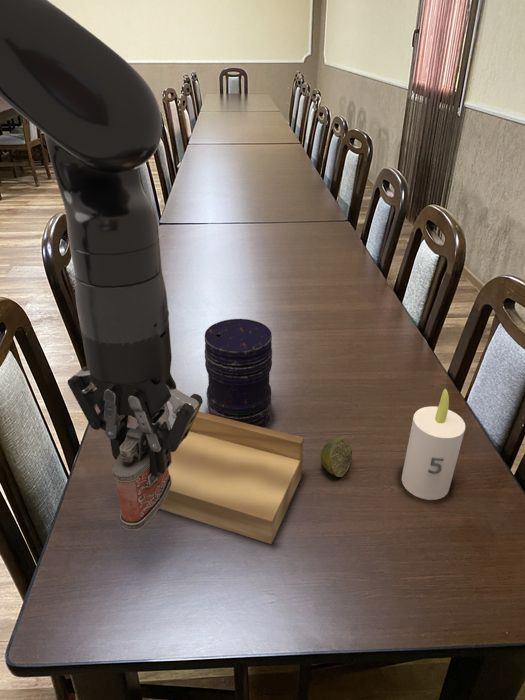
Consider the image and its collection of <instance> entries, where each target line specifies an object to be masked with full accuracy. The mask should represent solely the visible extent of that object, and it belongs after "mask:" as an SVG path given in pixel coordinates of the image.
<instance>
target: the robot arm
mask: <svg viewBox="0 0 525 700" xmlns="http://www.w3.org/2000/svg"><path fill="white" fill-rule="evenodd" d="M0 99H1V100H2V101H3V102H4V103H6V104H7V105H8V106H10V107H11V108H12V109H13V110H14V111H16V112H17V113H18V114H20V115H21V116H22V117H23V118H25V119H26V120H27V121H28V122H30V123H31V124H32V125H33V126H34V127H36V128H37V129H38V130H39V131H41V132H42V133H43V134H44V139H45V143H46V147H47V152H48V155H49V159H50V163H51V166H52V167H51V168H52V170H53V173H54V177H55V180H56V184H57V187H58V190H59V191H58V192H59V194H60V196H61V200H62V204H63V207H64V211H65V218H66V226H67V237H68V243H69V250H70V257H71V261H72V268H73V272H74V282H75V283H74V284H75V304H76V310H77V316H78V322H79V327H80V332H81V339H82V344H83V351H84V356H85V362H86V363H85V364H86V366H84V367H82V368H81V369H80V370H79V371H77V372H76V373H75V374H73V375H72V376H71V377H70V378H69V379H67V385H68V387H69V389H70V391H71V393H72V395H73V396H74V398H75V400H76V402H77V404H78V406H79V407H80V409H81V412H82V413H83V415H84V417H85V418H86V420H87V422H88V424H89V426H90V427H91V428H92V429H93V430H95V431H98V430H100V429H101V430H102V431H104V432H105V435H106V437H107V438H108V439H109V441H110V447H111V453H112V456H113V458H114V460H116V459H117V457H118V456H119V454H120V446H121V445H122V444H123V442H124V441H125V439H126V435H127V432H128V431H129V429H130V428H131V427H128V426H129V425H130V423H131V421H130V420H131V417H133V418H134V419H136V422H137V426H138V425H139V428H140V431H141V433H145V435H146V437H147V440H148V443H149V446H150V449H149V450H148V451H149V460H150V468H151V475H152V476H154V477H158V478H159V477H160V476H161V474H164V473H165V471H166V470H167V469H168V467H169V466H170V465H171V462H172V459H171V452H175V451H176V450H177V448H178V447H179V445H180V444H181V442H182V441H183V440H184V439H185V438H186V437H187V435H188V433H189V431H190V429H191V427H192V425H193V422H194V420H195V418H196V416H197V413H198V411H199V412H200V409H201V407H202V404H203V401H204V400H203V397H202V396H201V395H200V394H198V393H192V394H191V395H190V396H189V395H186V394H185V393H183V392H182V391H180V390H179V389H177V384H176V381H175V379H174V378H173V376H172V372H171V368H172V367H171V366H172V358H173V357H172V356H173V355H172V344H171V333H170V332H171V331H170V319H169V318H170V312H169V305H168V295H167V294H168V293H167V288H166V283H165V279H164V275H163V267H162V257H161V255H162V254H161V245H160V231H159V223H158V222H159V221H158V218H157V215H156V211H155V209H154V206H153V205H152V203H151V201H150V200H149V199H148V197H147V195H146V193H145V191H144V188H143V185H142V179H141V174H140V173H141V172H140V168H141V167H142V166H143V165H145V164H146V163H147V162H149V160H151V158H152V157H153V156H154V154H155V153H156V151H157V149H158V148H159V146H160V142H161V140H162V135H163V117H162V116H163V115H162V111H161V107H160V104H159V101H158V99H157V96H156V95H155V92H154V91H153V89H152V87H151V86H150V85H149V83H148V82H147V81H146V80H145V79H144V77H143V76H142V75H141V74H140V72H138V71H137V70H136V69H135V68H134V67H133V66H132V65H131V64H129V62H128V61H126V60H125V59H124V58H123V57H122V56H121V55H120V54H118V52H116V51H114V49H112V48H111V46H108V45H107V44H106V43H105V42H104V41H102V40H101V39H100V38H98V37H97V36H96V35H95V34H93V33H92V32H91V31H89V30H88V29H87V28H85V26H83V25H81V23H79V22H77V20H75V19H74V18H72V17H71V16H69V15H68V14H67V13H66V12H65V11H64V10H62V9H60V8H59V7H57V6H56V5H55V4H53V3H52V2H51V1H49V0H0ZM168 402H169V403H170V404H171V406H172V410H171V411H172V414H171V417H172V418H173V419H174V421H173V425H172V427H171V424H170V420H169V417H170V408H169V406H168ZM95 405H96V406H97V408H98V410H99V412H97V410H96V408H95ZM158 430H159V433H158Z"/></svg>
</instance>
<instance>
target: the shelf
mask: <svg viewBox="0 0 525 700" xmlns="http://www.w3.org/2000/svg"><path fill="white" fill-rule="evenodd" d="M304 439H305V438H304V437H303V436H298V435H294V434H290V433H287V432H282V431H278V430H274V429H271V428H267V427H265V428H263V427H259V426H255V425H251V424H247V423H243V422H239V421H235V420H231V419H227V418H223V417H219V416H215V415H211V414H209V413H206V412H202V411H200V410H199V411H198V413H197V416H196V418H195V420H194V422H193V425H192V427H191V429H190V431H189V433H188V435H187V437H186V438H185V439H184V440H183V441H182V442H181V444H180V445H179V447H178V448H177V450H176V451H175V452H171V459H172V462H171V465H170V466H169V467H168V469H169V474H170V476H171V487H170V489H169V492H168V494H167V496H166V498H165V500H164V502H163V503H162V505H161V507H160V508H159V509H158V510H163V511H165V512H169V513H171V514H174V515H178V516H180V517H184V518H187V519H191V520H193V521H197V522H199V523H204V524H206V525H210V526H213V527H216V528H219V529H222V530H225V531H227V532H232V533H234V534H238V535H240V536H244V537H248V538H250V539H253V540H257V541H259V542H263V543H266V544H269V545H272V544H273V543H274V540H275V537H276V536H277V534H278V531H279V529H280V526H281V524H282V521H283V519H284V517H285V515H286V513H287V511H288V508H289V506H290V504H291V502H292V499H293V497H294V495H295V493H296V491H297V488H298V485H299V483H300V481H301V479H302V472H303V471H302V470H303V458H304V457H303V456H304Z"/></svg>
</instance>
